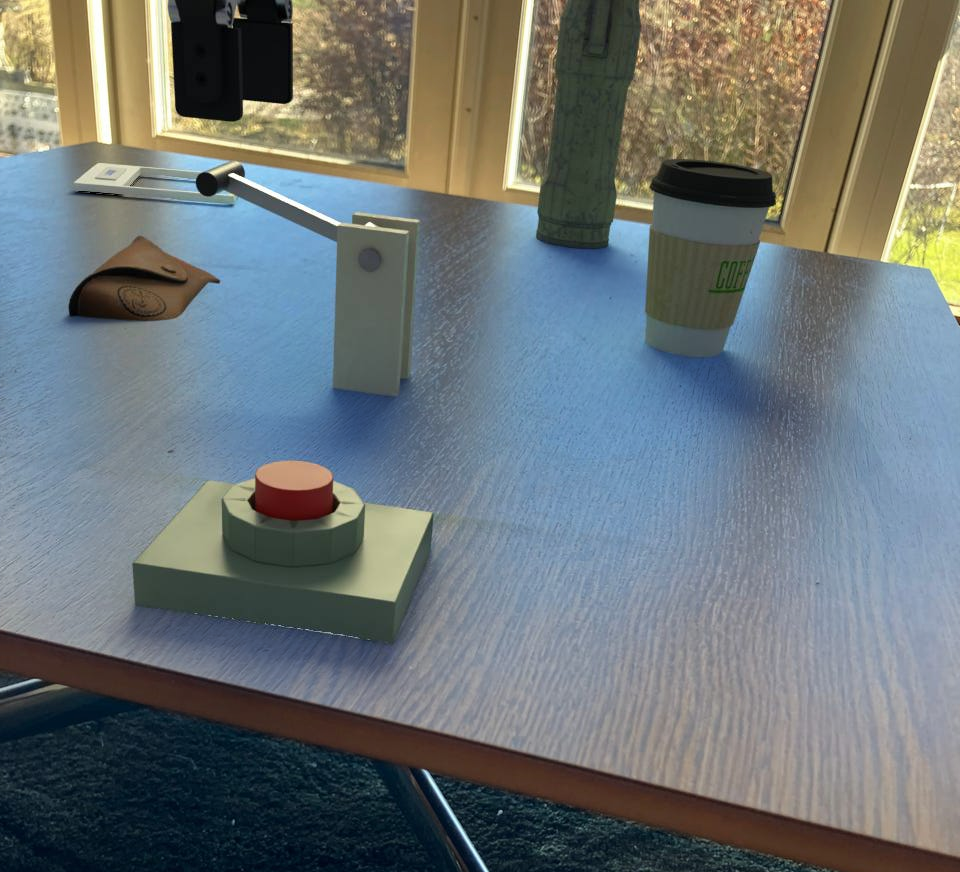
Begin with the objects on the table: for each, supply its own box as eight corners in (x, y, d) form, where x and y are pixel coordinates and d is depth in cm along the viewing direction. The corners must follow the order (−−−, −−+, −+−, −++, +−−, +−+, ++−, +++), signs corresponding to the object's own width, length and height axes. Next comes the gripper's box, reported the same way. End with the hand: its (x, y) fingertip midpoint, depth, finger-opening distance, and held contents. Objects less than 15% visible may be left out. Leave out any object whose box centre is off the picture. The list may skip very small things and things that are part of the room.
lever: (190, 198, 71) (200, 160, 70) (219, 185, 75) (229, 149, 74) (383, 286, 72) (396, 251, 71) (400, 268, 77) (412, 235, 75)
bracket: (285, 407, 75) (287, 223, 69) (316, 372, 82) (319, 202, 76) (432, 428, 75) (446, 244, 69) (451, 391, 82) (465, 221, 76)
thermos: (537, 247, 128) (580, -122, 111) (532, 226, 139) (571, -114, 121) (614, 254, 129) (669, -112, 111) (603, 233, 139) (653, -105, 121)
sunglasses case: (184, 336, 85) (133, 253, 82) (105, 376, 86) (53, 296, 83) (224, 279, 100) (182, 208, 97) (157, 314, 102) (114, 245, 99)
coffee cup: (761, 379, 92) (806, 183, 84) (651, 379, 89) (687, 176, 81) (707, 343, 100) (743, 161, 92) (604, 342, 97) (633, 154, 89)
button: (245, 519, 52) (244, 483, 51) (268, 489, 55) (268, 455, 54) (321, 530, 52) (322, 495, 51) (340, 499, 55) (341, 466, 54)
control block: (134, 605, 51) (128, 526, 49) (208, 517, 60) (206, 446, 58) (393, 645, 51) (398, 566, 49) (430, 550, 59) (436, 479, 57)
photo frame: (97, 161, 141) (244, 173, 144) (98, 170, 142) (244, 183, 144) (73, 180, 129) (233, 194, 131) (74, 191, 130) (233, 204, 132)
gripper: (206, -279, 58) (218, 90, 67) (64, -371, 43) (104, 119, 52) (350, -267, 58) (343, 102, 66) (257, -356, 43) (264, 135, 51)
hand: (238, 109), depth 59 cm, fingers open, 9 cm apart
